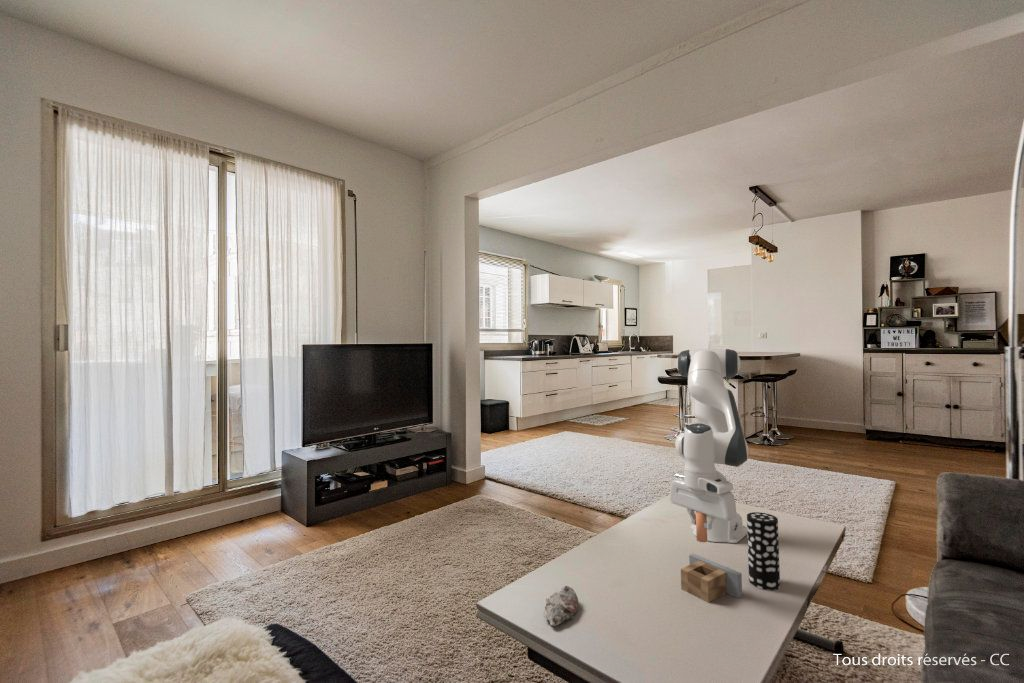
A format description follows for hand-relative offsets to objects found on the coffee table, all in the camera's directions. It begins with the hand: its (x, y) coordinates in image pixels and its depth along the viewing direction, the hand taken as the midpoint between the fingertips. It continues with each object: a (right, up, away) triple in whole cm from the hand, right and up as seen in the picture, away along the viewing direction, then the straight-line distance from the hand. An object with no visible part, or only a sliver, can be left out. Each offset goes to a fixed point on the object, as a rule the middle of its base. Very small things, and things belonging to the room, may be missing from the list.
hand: (701, 526), depth 136 cm
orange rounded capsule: (0, -4, 0) cm, 4 cm away
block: (+1, -19, 0) cm, 19 cm away
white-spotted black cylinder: (+20, -19, +3) cm, 28 cm away
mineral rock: (-43, -20, -10) cm, 48 cm away
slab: (+5, -19, +3) cm, 20 cm away
